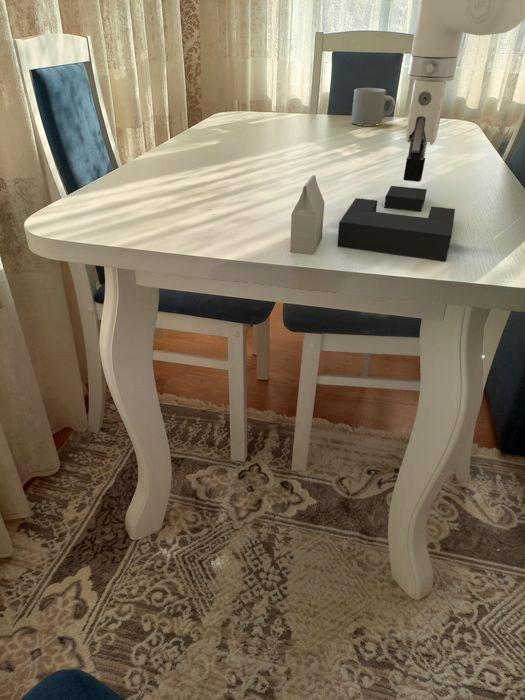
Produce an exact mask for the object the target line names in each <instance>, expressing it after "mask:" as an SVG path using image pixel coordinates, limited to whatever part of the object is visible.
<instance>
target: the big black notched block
mask: <svg viewBox="0 0 525 700" xmlns="http://www.w3.org/2000/svg"><path fill="white" fill-rule="evenodd" d="M377 206H378V200H377V199H368V198H359V197H355V198H354V200H353V201H352V203H351V205H349V208H348V209H347V210H346V212H344V214H343V216H342V217H341V219H340V220H339V223H338V231H337V233H338V234H337V242H336V243H337V244H336V247H338V248H345V249H346V248H347V249H352V250H353V249H354V250H359V251H368V252H375V253H382V254H390V255H394V256H395V255H396V256H403V257H410V258H418V259H424V260H431V261H439V262H447V258H448V254H449V249H450V245H451V240H452V234H453V230H454V229H453V228H454V222H455V213H456V208H450V207H442V206H441V207H440V206H430V210H429V213H428V216H427V217H422V216H414V215H406V214H397V213H387V212H379V211H377Z"/></svg>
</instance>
